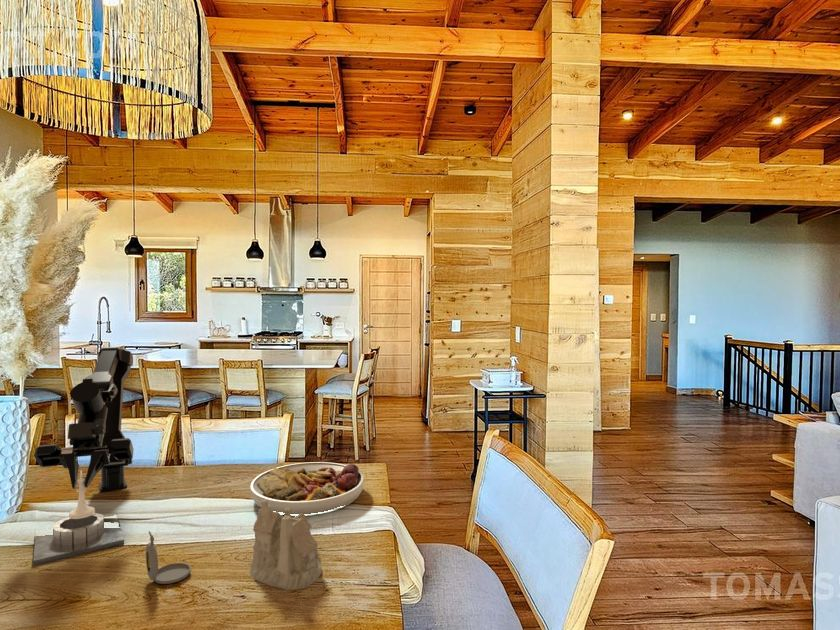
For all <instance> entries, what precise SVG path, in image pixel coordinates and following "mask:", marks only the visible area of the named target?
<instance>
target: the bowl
mask: <svg viewBox="0 0 840 630" xmlns="http://www.w3.org/2000/svg"><path fill="white" fill-rule="evenodd" d="M364 482H365V477H364V475H363V473H362V471H361V470H359V467H358V466H357V465H356V464H353V463H350V464H347V465H346V464H343V463H337V462H330V461H329V462H326V461H313V462H312V461H310V462H298V463H290V464H286V465H282V466H278V467H274V468H271V469H268V470H266V471H264V472H262V473H260V474H258V475H257V476H255V478H254V479H253V480H252V481H251V483H250V488H249V489H250V496H251V498H252V501H253V502H254V503H255V504H256V505H257V506H258V507H259V508H260V507H261V508H262V504H261V502H262V500H264V499H266V500H267V501H268V503H267V504H268V505H270V506H271V509H272V511H276V512H283V513H284V510H285V509H286V508H290V514H301V513H302V514H311V513H318V512H324V511H328V510H331V509H334V508H337V507H340V506H344V505H347V506H349V505H350V504H352V503H353V502H354V501H356V499H358V498H359V496H360V494H361V493H362V491H363V489H364ZM261 508H260V509H261Z"/></svg>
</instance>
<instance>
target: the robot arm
mask: <svg viewBox="0 0 840 630" xmlns="http://www.w3.org/2000/svg"><path fill="white" fill-rule="evenodd" d="M133 355H134V354H133V353H132V352H131V351H130V350H126V349H123V348H122V347H119V346H103V347H101V348H99V351H98V352H97V359H96V360H97V362H96V364H95V366H94V370H93V372H92V374H90V375H88V376H86V377H84V378H83V379H82V382H80V383H78V384H76V385H75V386H73V388H71V390H70V393H69V394H70V398H71V400H72V404H73V406H74V409H75V411H76V413H77V414H78V419H77V423H76V422H75V423H69V424H68V432H67V439H68V440H69V442H68V443H69V445H70V446H68V447H61V448H60V445H59V444H58V443H51V444H39V446H37V447H36V448H35V450H34V453H33V454H34V455H33V458H34V459H35V460H36V462H37V464H38V465H39V467H40V468H41V467H42V468H50V467H51V468H52V467H57V466H59V465H60V464H61V465H62V467H63V468H64V469H68V474H69V478H70V479H69V480H70V482H71V488H72V489H75V490H76V487H77V485H78V484H77V482H76V479H78V478H79V477H78V476H79V471H80V470H79V469H80V464H79V462H78V460H77V459H78V458H81V457H90V461H89V465H88V467H87V468H88V469H87V472H86V476H85V478H86V479H85V486H84V487H86V488H88V487H89V486H90V484H91V483H92V481H93V480H94V479H95V478H96V475H98V473H99V472H100V483H98V487H99V491H100V492H107V491H108V492H109V491H113V490H120V489H124V488H127V487H128V484H127V481H126V479H125V466H126V467H128V466H129V465H132V464H133V458H134V446H133V443H132V440H131V439H130V437H129V438H128V437H127V438H126V437H125V435H124V433H123V432H122V419H123V418H122V417H123V403H124V401H123V399H124V383H125V381H126V379H127V378H128V377H129V375H130V374H131V370H132V369H131V368H132V367H133V365H134V356H133ZM71 446H72V447H71Z"/></svg>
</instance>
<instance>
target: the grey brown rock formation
mask: <svg viewBox="0 0 840 630" xmlns="http://www.w3.org/2000/svg"><path fill="white" fill-rule="evenodd" d="M267 503H268V501H267V500H266V499H264V500H262V502H261V504H262V508H258V514H257V517H256V520H255V522H254V524H253V528H252V530H253V532H254V539H255V541H254V544H253V546H252V548H253V551H252V561H251V562H250V569H249V574H250V576H251V578H252V579H253V580H255V581H257V582H259V583H263V584H266V585H269V586H271V587H275V588H277V589H281V590H283V591H284V590H285V591H297V590H301V589H304V588H308V587H309V586H311V585H312V584H314V583H315V582H316V581H317V580H318V578H320V576H321V575H322V573H323V572H322V570H323V569H322V565H321V560H320V557H319V550H318V547H319V543H318V541H317V540H316V539H315V538H314V536H313V535H312V533H311V528H312V525H311V522H309V520H308V518H307V516H305V515H304V514H302V513H301V514H299V515H298V516H296V517H292V516H291V515H290V508H286V509H285V510H284V513H285V514H284V516H283V515H280V514H279V513H278V512H273V511H272V509H271V506H270V505H268V504H267Z"/></svg>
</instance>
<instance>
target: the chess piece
mask: <svg viewBox="0 0 840 630" xmlns="http://www.w3.org/2000/svg"><path fill="white" fill-rule="evenodd" d="M85 479H86V476H83V469H80V470H79V477H78V478H77V479H76V482H77V484H76V485H77V486H78V488H77V489H76V488H75V492H76V493H78V499H77V500H78V501H77V506H76V507H75V508H74V509H72V510H71V511H70V512H69V515H68V517H69V518H71V519H80V518H85V517H88V516H91V515H93V514H94V513H96V510H95V509H96V508H95V507H94V506H89V505H87V502H86V501H87V500H86V495H85V492H86V491H87V490H88V487H85Z"/></svg>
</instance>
